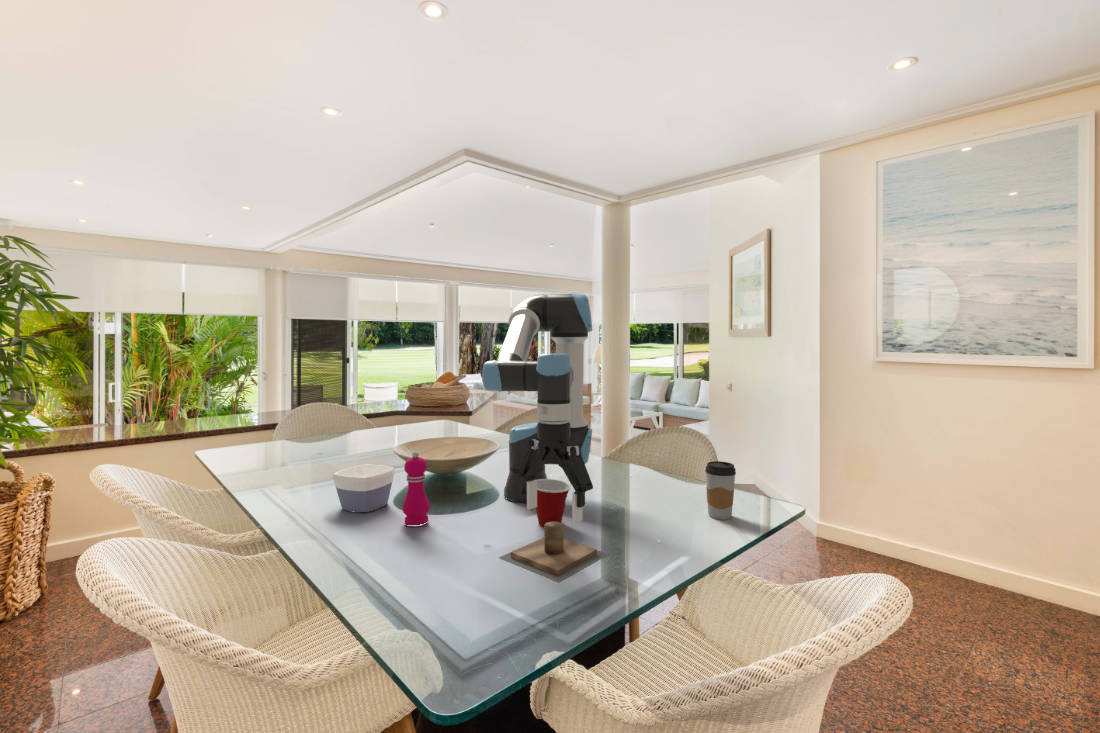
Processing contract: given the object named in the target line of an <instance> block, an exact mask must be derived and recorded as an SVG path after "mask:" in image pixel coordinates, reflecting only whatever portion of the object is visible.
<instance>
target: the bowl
mask: <svg viewBox="0 0 1100 733" xmlns="http://www.w3.org/2000/svg"><path fill="white" fill-rule="evenodd" d="M395 472H396V470H395V468H394V467H392V466H388V465H383V464H382V465H381V464H357V465H354V466H351V467H347V468H343V469H341V470H340V469H339V470H338V471H336V472H334V473H333V476H332V479H333V483H334V486H335V489H336V493H337V496H338V499H339V503H340V506H341V509H342V510H344V511H346V510H348V511H347V512H350V511H354V512H353V513H356V512H368V513H370V512H369V511H371V512H374V511H377V510H379V509H378V508H380V509H382V508H383V507H385V506H386V505H387V504H388V502H389V499H390V494H391V489H392V485H393V481H394V478H395ZM384 505H385V506H384ZM382 506H383V507H382ZM381 507H382V508H381ZM376 509H377V510H376ZM373 510H374V511H373Z"/></svg>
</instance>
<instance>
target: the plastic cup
mask: <svg viewBox="0 0 1100 733" xmlns="http://www.w3.org/2000/svg"><path fill="white" fill-rule="evenodd" d="M571 487H572V485H570V483H569V482H566V481H564V480H560V479H554V478H547V479H539V480H537V507H536V508H535V511H536V516H537V521H538V525H539V526H540V527H543V528H544V525H545V524H546V523H548V522H560V523H562V522H563V518H564V512H565V506H566V501H567V498H568V494H569V491H570V490H571Z"/></svg>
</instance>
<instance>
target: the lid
mask: <svg viewBox="0 0 1100 733" xmlns="http://www.w3.org/2000/svg"><path fill="white" fill-rule="evenodd" d="M543 528H544V530H543V531H544V532H543V533H544V536H543V537H541V538H540V539H538V540H534V541H533V542H530V543H529V544H526V545H523V546H521V547H519V548H517V549H515V550H512V551H511V558H514V559H516V560H519V561H521V562H524V563H526V564H529V565H531V566H534V567H536V568H539V569H541V570H544V571H546V572H549V573H551V574H554V575H557V576H559V575H560V574H562V573H564V572H566V571H568V570H569V569H571V568H573V567H575V566H577V565H579V564H580V563H582V562H584V561H586V560H588V559H590V558H591V557H593V556H595V555H597V550H598V549H596V548H594V547H591V546H587V545H584V544H582V543H578V542H575V541H572V540H569V539H567V538H565V536H564V535H565V534H564V529H565V526H564V523H560V522H548V523H546V524H545V525H544V527H543Z"/></svg>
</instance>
